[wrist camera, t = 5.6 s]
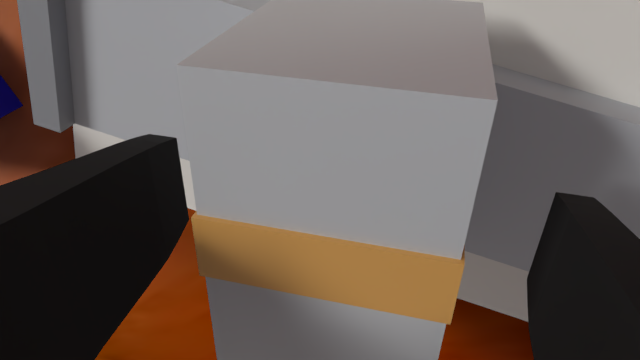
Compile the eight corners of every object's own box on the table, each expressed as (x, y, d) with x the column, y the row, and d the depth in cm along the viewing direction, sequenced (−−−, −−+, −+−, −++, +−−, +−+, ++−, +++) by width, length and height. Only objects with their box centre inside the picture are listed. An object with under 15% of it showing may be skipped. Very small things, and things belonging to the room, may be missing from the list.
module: (485, 3, 10) (502, 105, 6) (439, 239, 13) (428, 417, 9) (286, -12, 11) (169, 67, 6) (289, 214, 14) (213, 367, 10)
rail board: (881, 24, 10) (985, 62, 8) (610, 335, 16) (632, 404, 14) (64, -196, 11) (-21, -210, 9) (87, 161, 17) (38, 200, 15)
